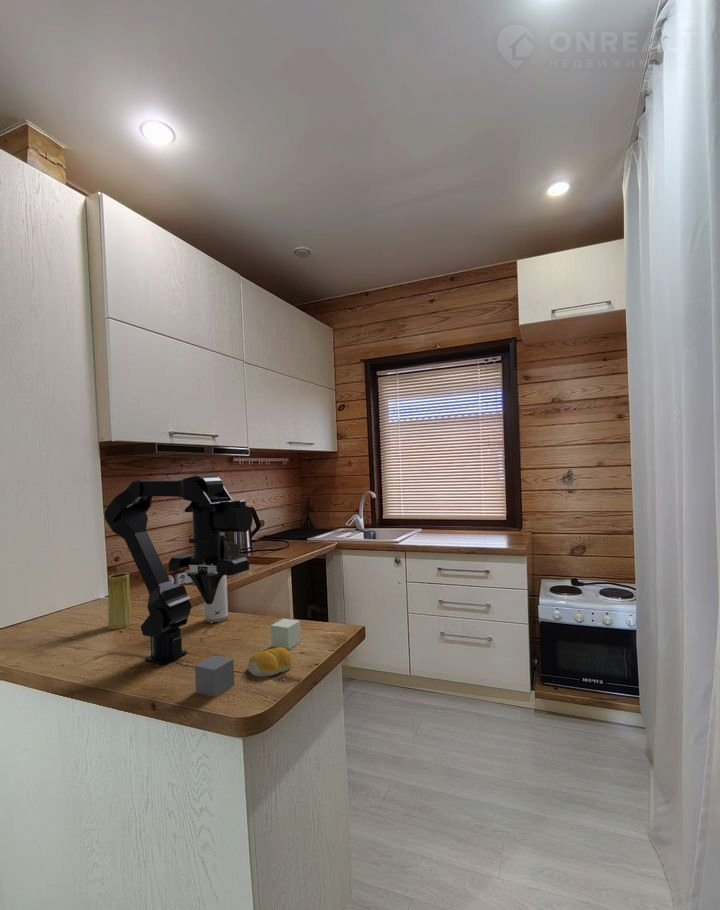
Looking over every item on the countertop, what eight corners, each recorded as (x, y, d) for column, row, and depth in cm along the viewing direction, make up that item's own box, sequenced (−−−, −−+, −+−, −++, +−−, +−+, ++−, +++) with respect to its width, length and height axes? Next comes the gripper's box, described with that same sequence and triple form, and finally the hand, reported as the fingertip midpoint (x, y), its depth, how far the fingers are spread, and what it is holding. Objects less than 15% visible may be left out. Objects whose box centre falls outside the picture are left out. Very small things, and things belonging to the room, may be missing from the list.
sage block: (271, 646, 104) (270, 625, 104) (284, 639, 108) (283, 618, 108) (288, 649, 102) (287, 627, 102) (301, 641, 106) (300, 620, 106)
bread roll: (299, 667, 92) (298, 648, 92) (260, 682, 86) (259, 661, 86) (279, 656, 98) (279, 638, 99) (242, 669, 93) (241, 650, 93)
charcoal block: (195, 692, 83) (194, 665, 83) (215, 680, 88) (214, 655, 88) (215, 697, 81) (214, 669, 81) (234, 685, 85) (233, 659, 86)
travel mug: (222, 623, 122) (219, 551, 122) (200, 623, 123) (198, 551, 124) (233, 616, 128) (230, 547, 129) (212, 615, 129) (210, 547, 130)
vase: (136, 623, 125) (135, 573, 126) (115, 631, 120) (113, 578, 121) (125, 620, 129) (123, 571, 129) (103, 627, 123) (102, 576, 124)
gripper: (264, 527, 100) (267, 596, 99) (203, 526, 108) (206, 590, 107) (229, 535, 90) (232, 612, 89) (165, 533, 98) (168, 604, 97)
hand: (209, 603), depth 96 cm, fingers closed
